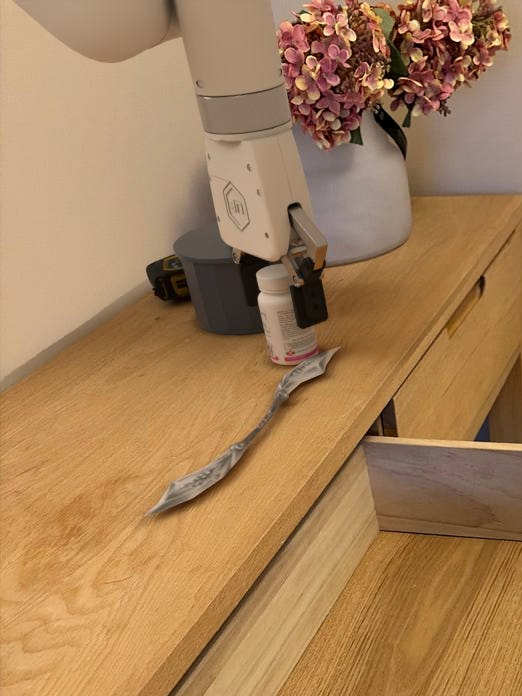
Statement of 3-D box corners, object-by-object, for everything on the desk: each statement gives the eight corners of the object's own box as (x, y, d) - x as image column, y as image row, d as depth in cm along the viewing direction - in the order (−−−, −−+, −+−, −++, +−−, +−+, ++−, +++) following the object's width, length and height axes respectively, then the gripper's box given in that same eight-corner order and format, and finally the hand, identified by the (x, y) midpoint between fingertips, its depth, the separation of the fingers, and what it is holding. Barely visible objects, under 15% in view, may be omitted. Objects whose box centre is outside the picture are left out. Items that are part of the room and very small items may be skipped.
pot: (177, 316, 108) (157, 246, 104) (273, 282, 114) (258, 215, 110) (236, 344, 101) (217, 271, 96) (335, 306, 107) (323, 235, 102)
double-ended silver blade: (139, 519, 75) (196, 524, 74) (136, 512, 75) (194, 517, 73) (302, 347, 98) (348, 348, 97) (301, 341, 98) (347, 342, 97)
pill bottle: (327, 348, 98) (311, 262, 93) (305, 368, 95) (287, 280, 89) (285, 345, 100) (267, 260, 94) (262, 365, 96) (242, 278, 91)
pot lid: (152, 253, 104) (139, 207, 101) (261, 218, 110) (252, 175, 108) (217, 279, 96) (205, 231, 93) (331, 241, 102) (323, 194, 99)
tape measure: (151, 290, 115) (141, 258, 113) (208, 278, 117) (200, 246, 115) (158, 309, 110) (148, 276, 108) (218, 296, 112) (210, 263, 110)
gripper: (157, 110, 87) (207, 304, 98) (262, 134, 76) (305, 348, 87) (230, 93, 90) (271, 282, 101) (340, 113, 80) (372, 322, 91)
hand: (286, 312), depth 94 cm, fingers open, 8 cm apart
